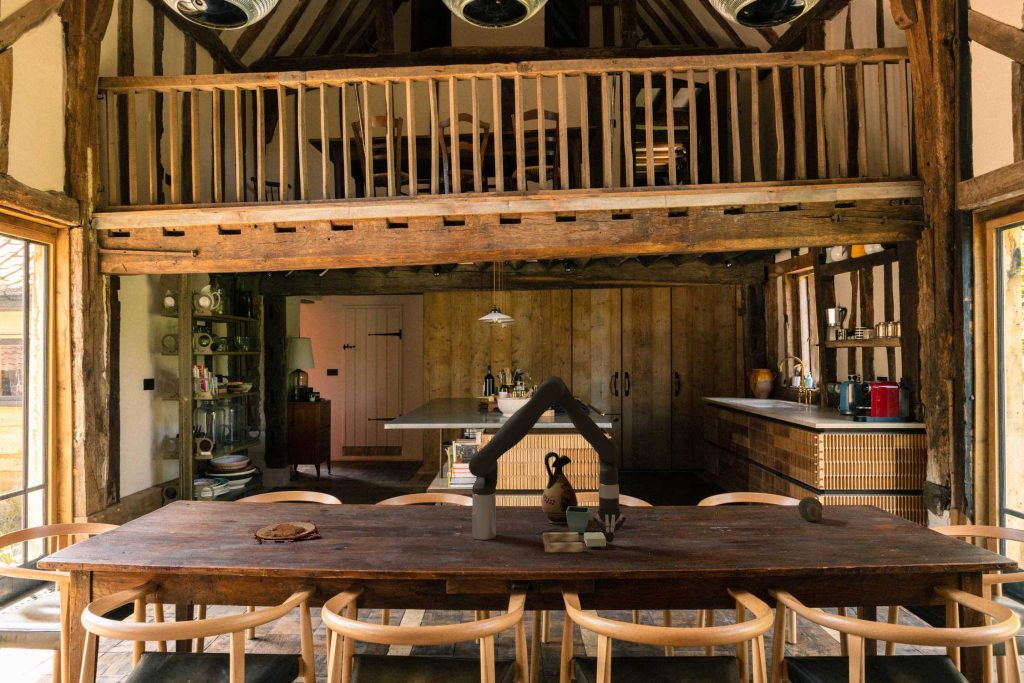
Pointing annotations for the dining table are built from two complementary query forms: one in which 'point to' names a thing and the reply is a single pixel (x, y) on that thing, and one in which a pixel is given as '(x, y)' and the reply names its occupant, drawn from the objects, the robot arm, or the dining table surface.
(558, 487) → the ceramic jug
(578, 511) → the flower pot
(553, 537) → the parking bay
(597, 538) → the cream footed box
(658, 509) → the dining table surface
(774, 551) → the dining table surface
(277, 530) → the plate with food
